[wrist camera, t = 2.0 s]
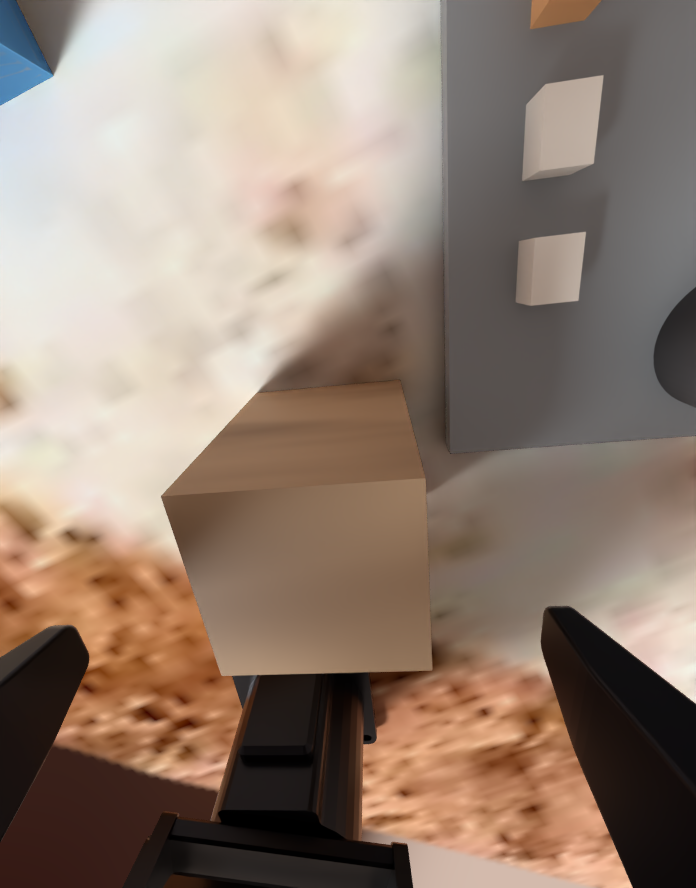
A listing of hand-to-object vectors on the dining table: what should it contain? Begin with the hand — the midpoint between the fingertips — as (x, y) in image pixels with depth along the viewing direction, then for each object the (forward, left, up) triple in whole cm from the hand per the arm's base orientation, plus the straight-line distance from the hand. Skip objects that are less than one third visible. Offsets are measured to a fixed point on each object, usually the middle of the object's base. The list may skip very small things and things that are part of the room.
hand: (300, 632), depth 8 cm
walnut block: (0, 0, -8) cm, 8 cm away
